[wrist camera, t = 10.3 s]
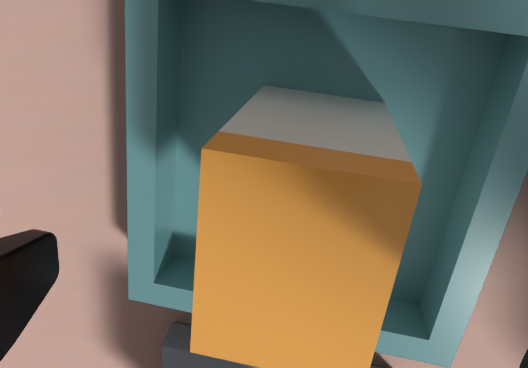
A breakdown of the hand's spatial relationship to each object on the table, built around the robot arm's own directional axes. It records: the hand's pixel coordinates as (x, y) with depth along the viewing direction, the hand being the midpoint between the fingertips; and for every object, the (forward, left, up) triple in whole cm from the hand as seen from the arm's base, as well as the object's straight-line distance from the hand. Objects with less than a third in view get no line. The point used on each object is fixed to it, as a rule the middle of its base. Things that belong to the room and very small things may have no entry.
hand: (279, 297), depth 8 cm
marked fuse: (0, 0, -8) cm, 8 cm away
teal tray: (0, 0, -8) cm, 8 cm away
